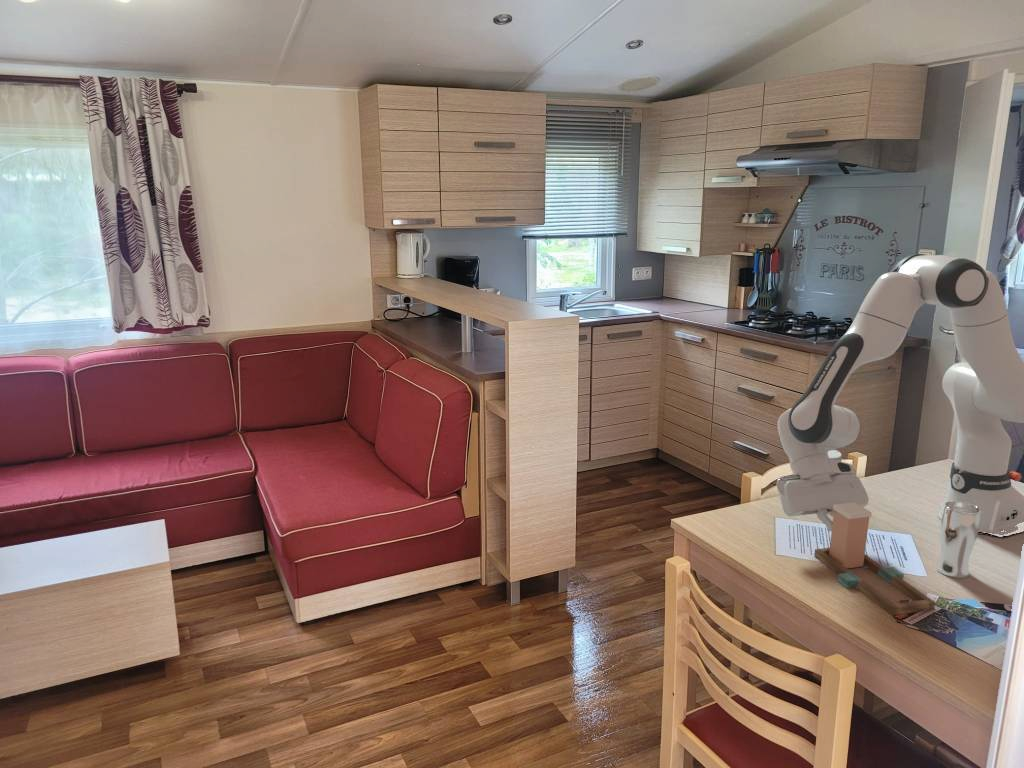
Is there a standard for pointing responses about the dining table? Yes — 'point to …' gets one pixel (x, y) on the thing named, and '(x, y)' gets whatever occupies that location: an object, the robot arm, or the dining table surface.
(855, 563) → the block
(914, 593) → the open rectangular frame
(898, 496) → the dining table surface
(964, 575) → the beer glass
